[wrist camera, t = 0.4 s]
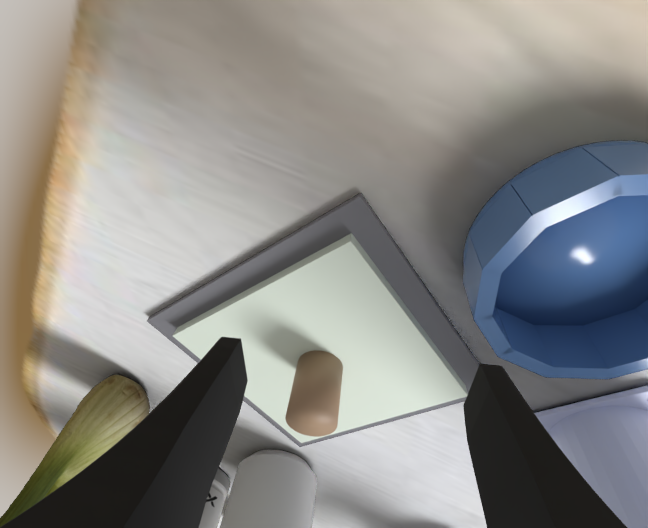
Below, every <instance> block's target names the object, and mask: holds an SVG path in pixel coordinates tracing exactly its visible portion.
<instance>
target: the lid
mask: <svg viewBox="0 0 648 528" xmlns="http://www.w3.org/2000/svg"><path fill="white" fill-rule="evenodd" d="M173 337H174V338H175V339H177V340H178V341H179V342H180V343H181V344H183V345H184V346H185V347H186V348H187V349H189V350H190V351H191V352H192V353H193V354H195V355H196V356H197V357H198V358H199V359H202V358H203V357H204V356H205V355H206V354H207V353H208V351H209V350H210V349H211V348H212V347H213V346H214V344H215V343H216V342H217V341H218V340H219V339H220V338H221V337H230V338H240V339H241V342H242V348H243V354H244V360H245V367H246V373H247V379H248V382H247V386H246V390H245V394H244V396H245V397H246V398H248V399H249V400H250V401H251V402H252V403H254V404H255V405H256V406H257V407H258V408H260V409H261V410H262V411H263V412H264V413H266V414H267V415H268V416H269V417H270V418H272V419H273V420H274V421H275V422H276V423H278V424H279V425H280V426H281V427H282V428H284V429H285V430H286V431H287V432H288V433H290V434H291V435H292V436H293V437H294V438H296V439H297V440H298V441H299V442H300V443H304V442H308V441H311V440H315V439H318V438H322V437H325V436H329V435H333V434H336V433H340V432H343V431H347V430H350V429H354V428H357V427H361V426H364V425H368V424H371V423H375V422H379V421H382V420H386V419H389V418H393V417H396V416H400V415H403V414H407V413H410V412H414V411H418V410H421V409H425V408H428V407H432V406H435V405H439V404H442V403H446V402H449V401H453V400H456V399H460V398H464V397H467V395H468V393H467V389H466V385H465V384H464V383H463V381H462V380H461V379H460V377H459V376H458V375H457V373H456V372H455V371H454V369H453V368H452V367H451V365H450V364H449V363H448V361H447V360H446V359H445V357H444V356H443V355H442V353H441V352H440V351H439V349H438V348H437V347H436V345H435V344H434V343H433V341H432V340H431V339H430V337H429V336H428V335H427V333H426V332H425V331H424V329H423V328H422V327H421V325H420V324H419V323H418V321H417V320H416V319H415V317H414V316H413V315H412V313H411V312H410V310H409V309H408V308H407V306H406V305H405V304H404V302H403V301H402V300H401V298H400V297H399V296H398V294H397V293H396V292H395V290H394V289H393V288H392V286H391V285H390V284H389V282H388V281H387V280H386V278H385V277H384V276H383V274H382V273H381V272H380V270H379V269H378V268H377V266H376V265H375V264H374V262H373V261H372V260H371V258H370V257H369V256H368V254H367V253H366V252H365V250H364V249H363V248H362V246H361V245H360V244H359V242H358V241H357V240H356V238H355V237H354V236H353V234H352V233H351V234H349V235H347V236H345V237H343V238H342V239H340V240H338V241H336V242H334V243H332V244H330V245H329V246H327V247H325V248H323V249H321V250H319V251H317V252H316V253H314V254H312V255H310V256H308V257H306V258H305V259H303V260H301V261H299V262H297V263H295V264H293V265H292V266H290V267H288V268H286V269H284V270H282V271H281V272H279V273H277V274H275V275H273V276H271V277H269V278H268V279H266V280H264V281H262V282H260V283H258V284H257V285H255V286H253V287H251V288H249V289H247V290H245V291H244V292H242V293H240V294H238V295H236V296H234V297H233V298H231V299H229V300H227V301H225V302H223V303H221V304H220V305H218V306H216V307H214V308H212V309H210V310H209V311H207V312H205V313H203V314H201V315H199V316H197V317H196V318H194V319H192V320H190V321H188V322H186V323H185V324H183V325H181V326H179V327H177V329H176V331H175V332H174V334H173Z"/></svg>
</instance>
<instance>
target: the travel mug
mask: <svg viewBox="0 0 648 528" xmlns="http://www.w3.org/2000/svg"><path fill="white" fill-rule="evenodd" d="M229 487H230V480H229V478H228V476H227V475H226V474H225V473H224V472H223V471H222V470H221V469H219V468H218V470H217V473H216V475H215V478H214V480H213V483H212V486H211V489H210V492H209V494H208V497H207V500H206V504H205V507H204V511H203V514H202V518H201V521H200V525H199V528H217V526H218V523H219V519H220V516H221V513H222V510H223V506H224V502H225V499H226V496H227V493H228V490H229Z"/></svg>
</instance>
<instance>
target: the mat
mask: <svg viewBox="0 0 648 528" xmlns="http://www.w3.org/2000/svg"><path fill="white" fill-rule="evenodd" d="M351 233H352V234H353V236H354V237H355V238H356V240H357V241H358V242H359V244H360V245H361V246H362V248H363V249H364V250H365V252H366V253H367V254H368V256H369V257H370V258H371V260H372V261H373V262H374V264H375V265H376V266H377V268H378V269H379V270H380V272H381V273H382V274H383V276H384V277H385V278H386V280H387V281H388V282H389V284H390V285H391V286H392V288H393V289H394V290H395V292H396V293H397V294H398V296H399V297H400V298H401V300H402V301H403V302H404V304H405V305H406V306H407V308H408V309H409V310H410V312H411V313H412V315H413V316H414V317H415V319H416V320H417V321H418V323H419V324H420V325H421V327H422V328H423V329H424V331H425V332H426V333H427V335H428V336H429V337H430V339H431V340H432V341H433V343H434V344H435V345H436V347H437V348H438V349H439V351H440V352H441V353H442V355H443V356H444V357H445V359H446V360H447V361H448V363H449V364H450V365H451V367H452V368H453V369H454V371H455V372H456V373H457V375H458V376H459V377H460V379H461V380H462V381H463V383H464V384H465V385H466V389H467V393H469V390H470V388H471V385H472V382H473V380H474V377H475V375H476V372H477V369H478V367H479V363H478V361H477V360H476V359H475V357H474V356H473V354H472V353H471V351H470V350H469V348H468V347H467V346H466V344H465V343H464V341H463V340H462V338H461V337H460V335H459V334H458V333H457V331H456V330H455V328H454V327H453V325H452V324H451V322H450V321H449V320H448V318H447V317H446V315H445V314H444V312H443V311H442V309H441V308H440V307H439V305H438V304H437V302H436V301H435V299H434V298H433V296H432V295H431V294H430V292H429V291H428V289H427V288H426V286H425V285H424V283H423V282H422V281H421V279H420V278H419V276H418V275H417V273H416V272H415V270H414V269H413V268H412V266H411V265H410V263H409V262H408V260H407V259H406V257H405V256H404V255H403V253H402V252H401V250H400V249H399V247H398V246H397V244H396V243H395V241H394V240H393V239H392V237H391V236H390V234H389V233H388V231H387V230H386V228H385V227H384V226H383V224H382V223H381V221H380V220H379V218H378V217H377V215H376V214H375V213H374V211H373V210H372V208H371V207H370V205H369V204H368V202H367V201H366V200H365V198H364V197H363V195H362V194H361V193H360V194H358V195H356V196H355V197H353V198H351V199H349V200H348V201H346V202H344V203H343V204H341V205H339V206H338V207H336V208H334V209H332V210H331V211H329V212H327V213H326V214H324V215H322V216H320V217H319V218H317V219H315V220H314V221H312V222H310V223H309V224H307V225H305V226H303V227H302V228H300V229H298V230H297V231H295V232H293V233H292V234H290V235H288V236H286V237H285V238H283V239H281V240H280V241H278V242H276V243H275V244H273V245H271V246H269V247H268V248H266V249H264V250H263V251H261V252H259V253H258V254H256V255H254V256H252V257H251V258H249V259H247V260H246V261H244V262H242V263H240V264H239V265H237V266H235V267H234V268H232V269H230V270H229V271H227V272H225V273H223V274H222V275H220V276H218V277H217V278H215V279H213V280H212V281H210V282H208V283H206V284H205V285H203V286H201V287H200V288H198V289H196V290H195V291H193V292H191V293H189V294H188V295H186V296H184V297H183V298H181V299H179V300H178V301H176V302H174V303H172V304H171V305H169V306H167V307H166V308H164V309H162V310H160V311H159V312H157V313H155V314H154V315H152V316H150V317H149V318H148V320H147V322H149V323H150V324H151V325H152V326H153V327H155V328H156V329H157V330H158V331H160V332H161V333H162V334H163V335H164V336H166V337H167V338H168V339H169V340H170V341H172V342H173V343H174V344H175V345H177V346H178V347H179V348H180V349H181V350H183V351H184V352H185V353H186V354H187V355H189V356H190V357H191V358H192V359H194V360H195V361H196V362H197V363H199V362H200V361H201V359H199V358H198V357H197V356H196V355H195V354H193V353H192V352H191V351H190V350H189V349H187V348H186V347H185V346H184V345H183V344H181V343H180V342H179V341H178V340H177V339H175V338H174V337H173V334H174V332H175V331H176V329H177V327H179V326H181V325H183V324H185V323H186V322H188V321H190V320H192V319H194V318H196V317H197V316H199V315H201V314H203V313H205V312H207V311H209V310H210V309H212V308H214V307H216V306H218V305H220V304H221V303H223V302H225V301H227V300H229V299H231V298H233V297H234V296H236V295H238V294H240V293H242V292H244V291H245V290H247V289H249V288H251V287H253V286H255V285H257V284H258V283H260V282H262V281H264V280H266V279H268V278H269V277H271V276H273V275H275V274H277V273H279V272H281V271H282V270H284V269H286V268H288V267H290V266H292V265H293V264H295V263H297V262H299V261H301V260H303V259H305V258H306V257H308V256H310V255H312V254H314V253H316V252H317V251H319V250H321V249H323V248H325V247H327V246H329V245H330V244H332V243H334V242H336V241H338V240H340V239H342V238H343V237H345V236H347V235H349V234H351ZM466 398H467V397H464V398H460V399H456V400H453V401H449V402H446V403H442V404H439V405H435V406H432V407H428V408H425V409H421V410H418V411H414V412H410V413H407V414H403V415H400V416H396V417H393V418H389V419H386V420H382V421H379V422H375V423H371V424H368V425H364V426H361V427H357V428H354V429H350V430H347V431H343V432H340V433H336V434H333V435H329V436H325V437H322V438H318V439H315V440H311V441H308V442H304V443H300V442H299V441H298V440H297V439H296V438H294V437H293V436H292V435H291V434H290V433H288V432H287V431H286V430H285V429H284V428H282V427H281V426H280V425H279V424H278V423H276V422H275V421H274V420H273V419H272V418H270V417H269V416H268V415H267V414H266V413H264V412H263V411H262V410H261V409H260V408H258V407H257V406H256V405H255V404H254V403H252V402H251V401H250V400H249V399H248V398H246V397H245V396H244V398H243V401H245V402H246V403H247V404H248V405H249V406H251V407H252V408H253V409H254V410H255V411H257V412H258V413H259V414H260V415H262V416H263V417H264V418H265V419H266V420H268V421H269V422H270V423H271V424H272V425H274V426H275V427H276V428H277V429H279V430H280V431H281V432H282V433H283V434H285V435H286V436H287V437H288V438H290V439H291V440H292V441H293V442H294V443H296V444H297V445H298V446H299V447H302V446H305V445H309V444H312V443H316V442H320V441H323V440H327V439H330V438H334V437H338V436H341V435H345V434H348V433H352V432H356V431H359V430H363V429H366V428H370V427H374V426H377V425H381V424H384V423H388V422H392V421H395V420H399V419H402V418H406V417H410V416H413V415H417V414H420V413H424V412H428V411H431V410H435V409H438V408H442V407H446V406H449V405H453V404H456V403H460V402H464V401H465V400H466Z"/></svg>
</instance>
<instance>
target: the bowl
mask: <svg viewBox="0 0 648 528" xmlns="http://www.w3.org/2000/svg"><path fill="white" fill-rule="evenodd" d="M463 268H464V273H463V284H464V287H465V291H466V294H467V298H468V301H469V305H470V308H471V312H472V315H473V319H474V321H475V322H476V324H477V325H478V327H479V329H480V330H481V332H482V333H483V335H484V336H485V338H486V339H487V341H488V342H489V344H490V346H491V347H492V349H493V350H494V352H495V353H496V355H497V356H498V357H499V358H502V359H504V360H506V361H509V362H511V363H513V364H516V365H518V366H520V367H523V368H525V369H527V370H529V371H532V372H534V373H536V374H539V375H541V376H543V377H549V378H581V379H612V378H616V377H619V376H623V375H627V374H631V373H635V372H639V371H643V370H646V369H648V143H647V142H639V141H605V142H597V143H591V144H587V145H582V146H578V147H574V148H571V149H568V150H565V151H562V152H559V153H557V154H554V155H552V156H550V157H548V158H545V159H543V160H541V161H539V162H537V163H536V164H534V165H532V166H530V167H529V168H527V169H525V170H523V171H522V172H521V173H519V174H518V175H516V176H515V177H514V178H512V179H511V180H509V181H508V182H507V183H506V184H505V185H504V186H503V187H501V188H500V189H499V190H498V191H497V192H496V193H495V194H494V195H493V196H492V197H491V198H490V200H489V201H488V202H487V203H486V204H485V205H484V207H483V208H482V210H481V211H480V212H479V214H478V215H477V217H476V219H475V220H474V222H473V224H472V226H471V228H470V230H469V233H468V236H467V238H466V242H465V247H464V251H463Z"/></svg>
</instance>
